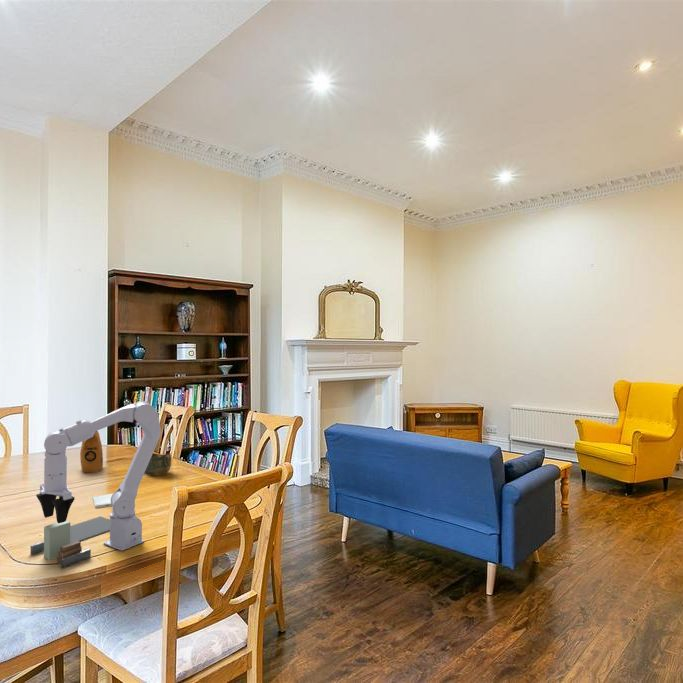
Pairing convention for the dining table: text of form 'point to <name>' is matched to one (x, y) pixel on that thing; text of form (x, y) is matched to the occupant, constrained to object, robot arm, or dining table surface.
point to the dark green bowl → (158, 465)
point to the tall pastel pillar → (55, 538)
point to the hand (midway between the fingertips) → (55, 519)
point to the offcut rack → (67, 560)
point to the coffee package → (91, 454)
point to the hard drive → (102, 500)
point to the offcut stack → (69, 550)
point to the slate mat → (89, 529)
